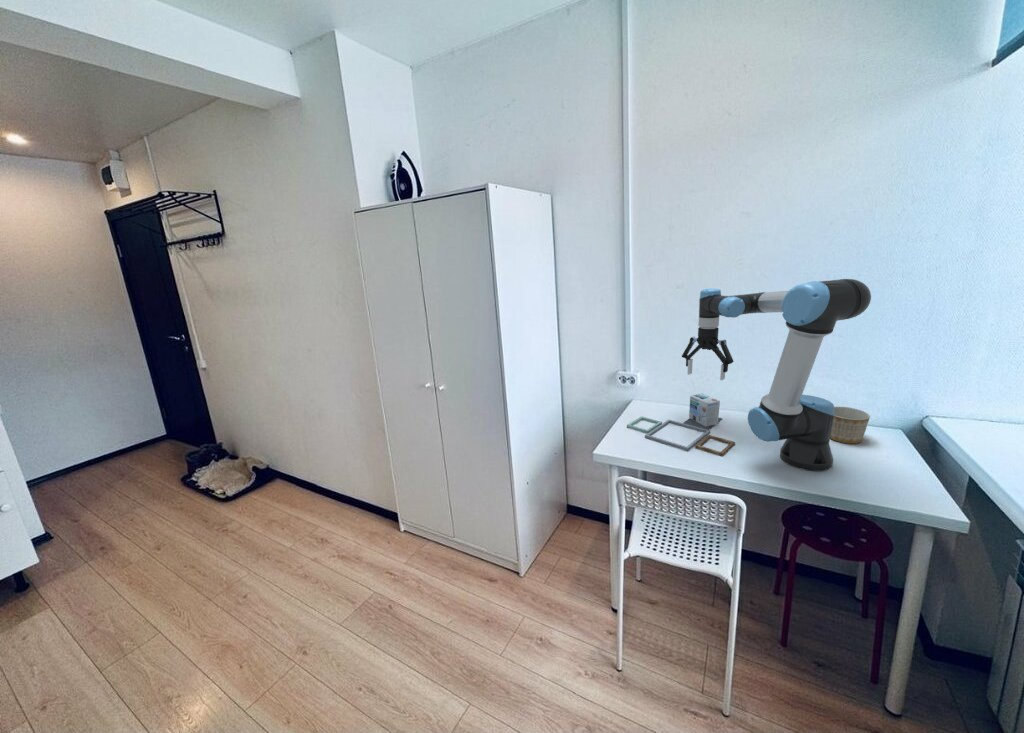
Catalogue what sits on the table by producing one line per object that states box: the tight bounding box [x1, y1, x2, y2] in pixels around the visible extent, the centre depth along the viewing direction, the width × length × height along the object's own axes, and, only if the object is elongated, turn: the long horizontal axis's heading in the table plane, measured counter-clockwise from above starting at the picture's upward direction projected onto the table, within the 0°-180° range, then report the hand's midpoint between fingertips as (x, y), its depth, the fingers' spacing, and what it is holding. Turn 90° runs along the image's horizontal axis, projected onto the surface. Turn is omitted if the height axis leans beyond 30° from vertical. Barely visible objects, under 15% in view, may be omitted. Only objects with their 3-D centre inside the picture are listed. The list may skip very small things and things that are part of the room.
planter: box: [830, 406, 871, 445], centre depth 154 cm, size 13×13×10 cm
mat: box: [682, 417, 723, 431], centre depth 178 cm, size 11×15×1 cm
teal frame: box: [626, 415, 663, 434], centre depth 178 cm, size 10×12×1 cm
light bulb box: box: [688, 393, 721, 427], centre depth 176 cm, size 11×7×11 cm, turn 18°
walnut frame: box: [694, 434, 736, 457], centre depth 157 cm, size 10×12×1 cm
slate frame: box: [644, 419, 711, 452], centre depth 168 cm, size 18×20×1 cm
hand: (705, 376), depth 172 cm, fingers open, 13 cm apart
